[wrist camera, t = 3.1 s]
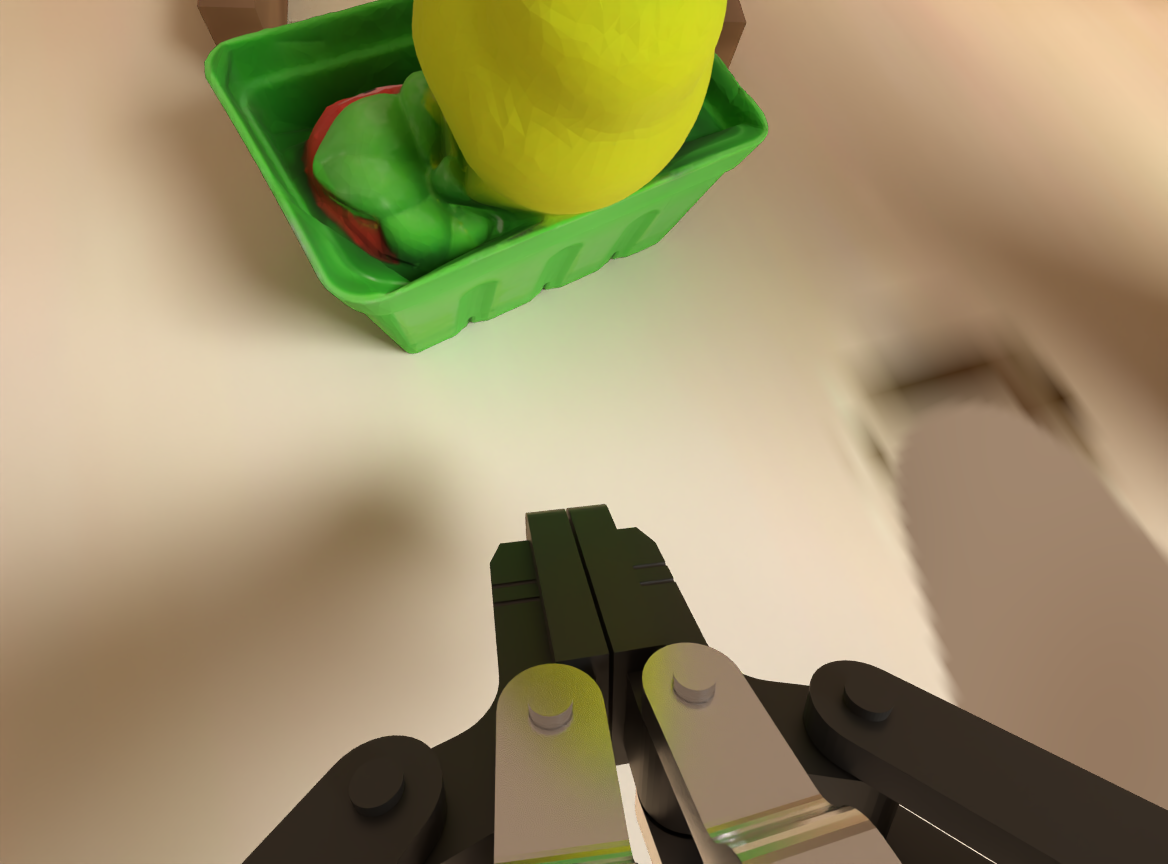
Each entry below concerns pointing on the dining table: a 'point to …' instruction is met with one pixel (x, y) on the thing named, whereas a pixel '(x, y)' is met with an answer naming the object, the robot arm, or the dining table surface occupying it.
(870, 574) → the dining table surface
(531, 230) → the fruit basket
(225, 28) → the frame
